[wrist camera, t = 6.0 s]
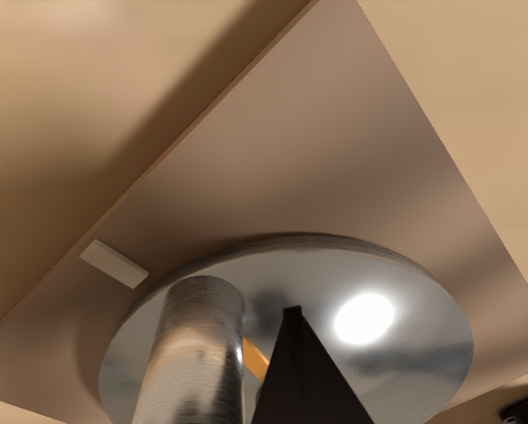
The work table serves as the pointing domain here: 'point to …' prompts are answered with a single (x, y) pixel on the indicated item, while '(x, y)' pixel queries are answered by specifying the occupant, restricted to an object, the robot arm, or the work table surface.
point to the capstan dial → (267, 327)
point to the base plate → (276, 211)
